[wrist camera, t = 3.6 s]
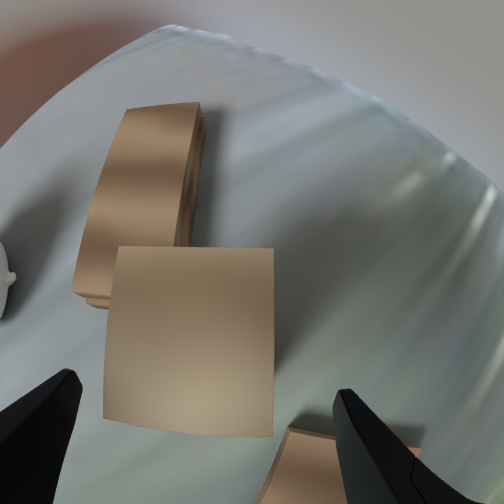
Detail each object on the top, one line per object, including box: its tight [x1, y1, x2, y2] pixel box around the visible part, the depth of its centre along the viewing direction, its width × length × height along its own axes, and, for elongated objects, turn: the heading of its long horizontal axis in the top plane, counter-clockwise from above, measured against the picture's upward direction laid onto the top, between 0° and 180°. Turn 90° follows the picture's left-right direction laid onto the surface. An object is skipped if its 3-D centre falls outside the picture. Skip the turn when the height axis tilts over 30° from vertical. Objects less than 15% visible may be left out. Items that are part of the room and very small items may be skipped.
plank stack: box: [72, 102, 206, 309], centre depth 21 cm, size 17×7×3 cm, turn 179°
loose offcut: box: [256, 426, 423, 504], centre depth 14 cm, size 7×10×2 cm
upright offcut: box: [103, 246, 274, 437], centre depth 13 cm, size 5×4×12 cm
